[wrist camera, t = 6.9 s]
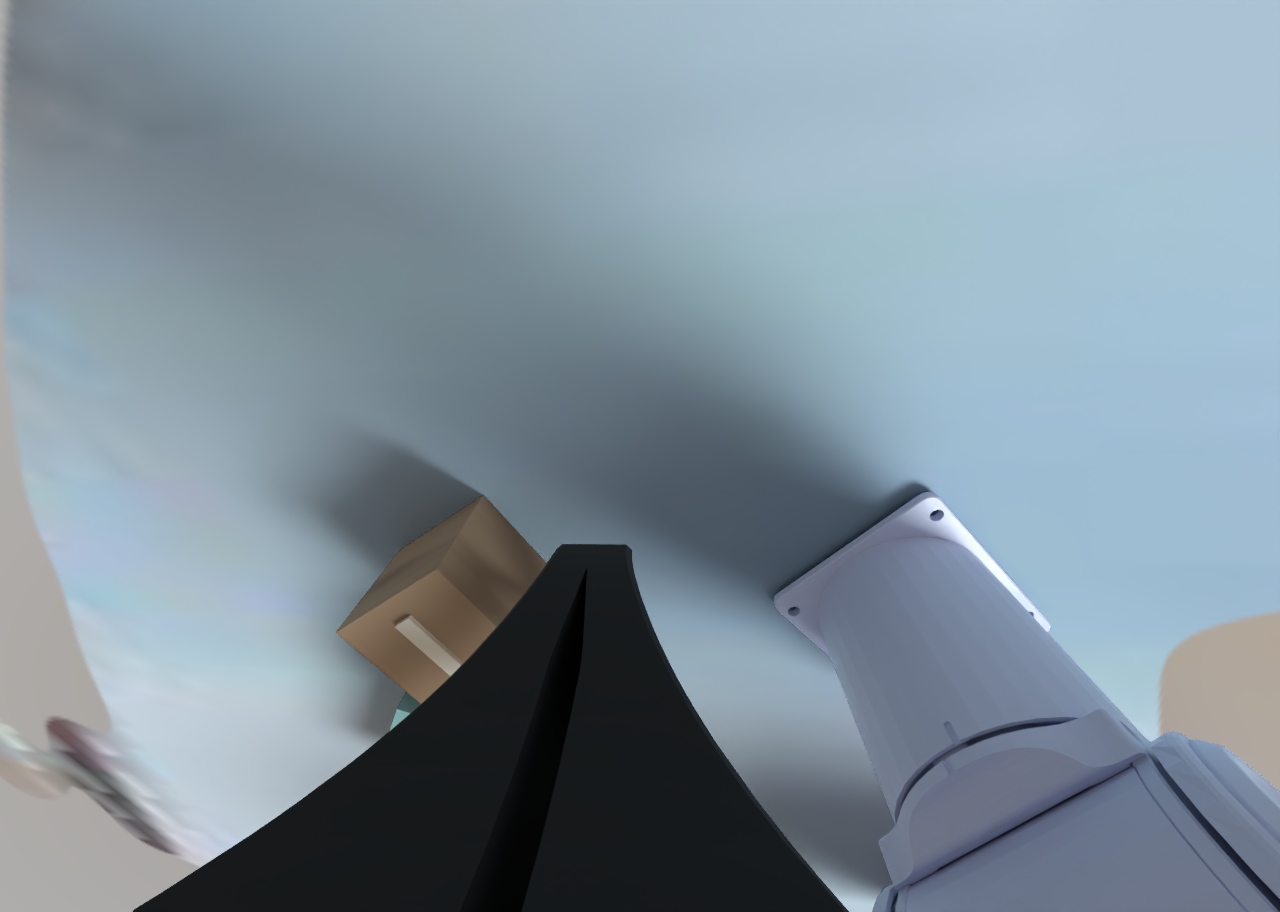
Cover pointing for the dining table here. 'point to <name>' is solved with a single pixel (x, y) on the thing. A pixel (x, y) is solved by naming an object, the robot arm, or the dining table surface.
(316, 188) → the dining table surface
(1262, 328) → the dining table surface
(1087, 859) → the robot arm
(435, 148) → the dining table surface
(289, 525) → the dining table surface
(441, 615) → the digit block one
